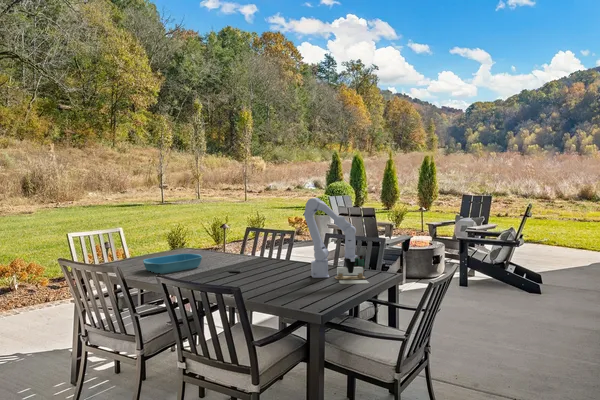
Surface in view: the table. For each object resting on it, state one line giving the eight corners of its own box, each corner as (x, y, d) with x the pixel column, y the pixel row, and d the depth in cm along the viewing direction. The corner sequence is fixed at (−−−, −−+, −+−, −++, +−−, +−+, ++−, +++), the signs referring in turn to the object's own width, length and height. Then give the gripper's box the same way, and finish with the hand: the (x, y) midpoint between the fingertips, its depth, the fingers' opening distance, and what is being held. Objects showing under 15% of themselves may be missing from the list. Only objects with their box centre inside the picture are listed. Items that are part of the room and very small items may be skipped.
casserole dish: (155, 276, 240) (155, 264, 240) (135, 271, 255) (135, 259, 255) (209, 267, 268) (209, 255, 268) (188, 262, 283) (188, 252, 283)
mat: (340, 284, 223) (340, 283, 223) (338, 281, 229) (338, 280, 229) (369, 283, 224) (369, 282, 224) (366, 280, 231) (366, 280, 231)
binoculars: (344, 257, 248) (352, 253, 256) (345, 275, 249) (353, 270, 257) (358, 258, 243) (366, 254, 251) (359, 276, 244) (367, 272, 252)
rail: (337, 275, 235) (337, 268, 235) (337, 274, 237) (337, 267, 237) (363, 274, 236) (363, 267, 236) (362, 273, 239) (362, 266, 238)
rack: (336, 279, 234) (336, 274, 234) (334, 277, 239) (334, 272, 238) (365, 279, 235) (365, 273, 235) (363, 277, 240) (363, 271, 240)
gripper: (360, 249, 229) (360, 275, 230) (354, 245, 244) (354, 269, 244) (347, 249, 229) (347, 275, 229) (342, 245, 243) (342, 269, 244)
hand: (350, 272), depth 237 cm, fingers closed on rail, 3 cm apart
